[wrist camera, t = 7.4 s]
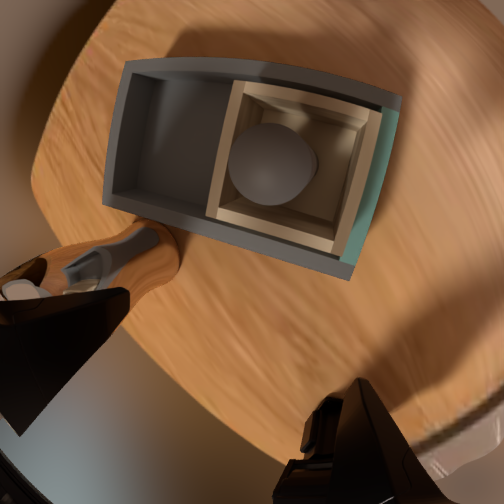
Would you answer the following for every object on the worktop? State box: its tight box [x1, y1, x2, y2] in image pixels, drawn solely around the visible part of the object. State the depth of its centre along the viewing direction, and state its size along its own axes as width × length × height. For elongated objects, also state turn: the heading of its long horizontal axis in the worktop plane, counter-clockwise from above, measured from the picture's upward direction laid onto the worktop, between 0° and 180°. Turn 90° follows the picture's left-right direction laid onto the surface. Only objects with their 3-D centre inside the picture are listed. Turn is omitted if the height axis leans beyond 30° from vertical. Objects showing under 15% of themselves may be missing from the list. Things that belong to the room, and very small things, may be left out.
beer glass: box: [0, 219, 180, 341], centre depth 16 cm, size 7×7×15 cm
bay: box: [102, 57, 402, 281], centre depth 16 cm, size 18×11×4 cm, turn 78°
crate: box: [205, 80, 382, 257], centre depth 12 cm, size 7×7×10 cm
